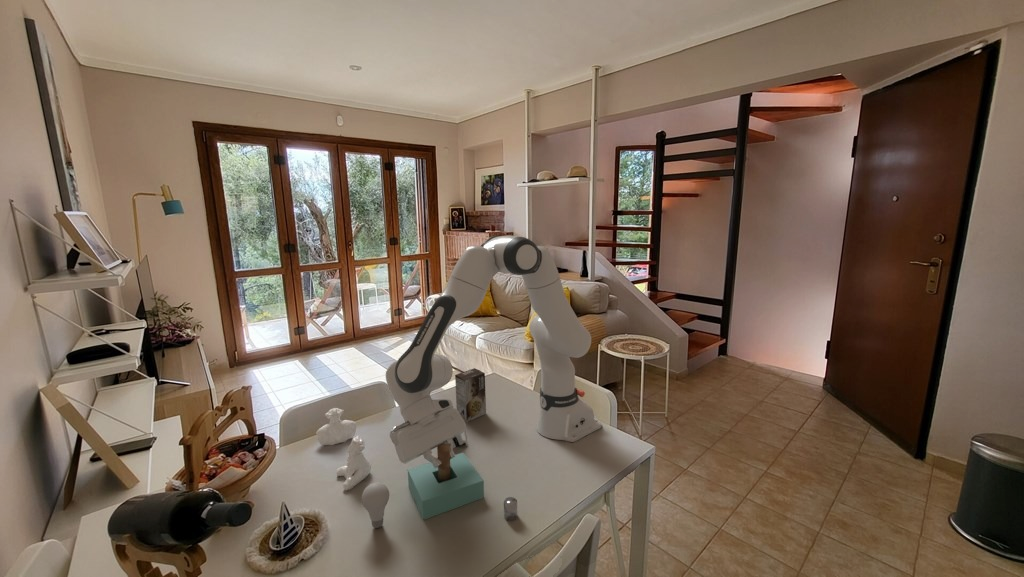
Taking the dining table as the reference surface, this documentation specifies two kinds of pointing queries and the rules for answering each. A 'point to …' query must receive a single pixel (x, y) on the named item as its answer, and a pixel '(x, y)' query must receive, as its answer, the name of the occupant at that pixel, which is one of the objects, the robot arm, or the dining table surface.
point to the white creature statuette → (355, 464)
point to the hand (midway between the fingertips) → (445, 462)
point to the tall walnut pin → (444, 462)
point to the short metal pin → (510, 509)
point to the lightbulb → (375, 502)
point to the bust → (335, 429)
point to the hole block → (445, 486)
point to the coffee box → (470, 394)
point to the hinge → (460, 439)
